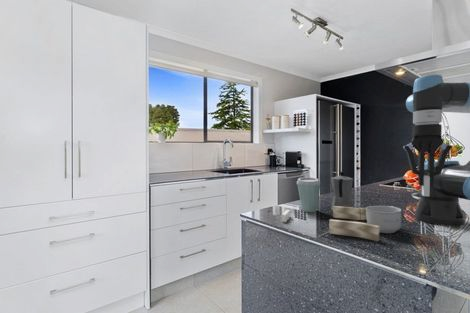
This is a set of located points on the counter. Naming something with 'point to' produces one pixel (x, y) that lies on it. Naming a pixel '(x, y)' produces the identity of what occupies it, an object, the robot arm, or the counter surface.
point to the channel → (352, 223)
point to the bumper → (286, 216)
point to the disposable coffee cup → (308, 193)
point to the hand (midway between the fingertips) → (425, 195)
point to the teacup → (384, 218)
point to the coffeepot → (341, 191)
